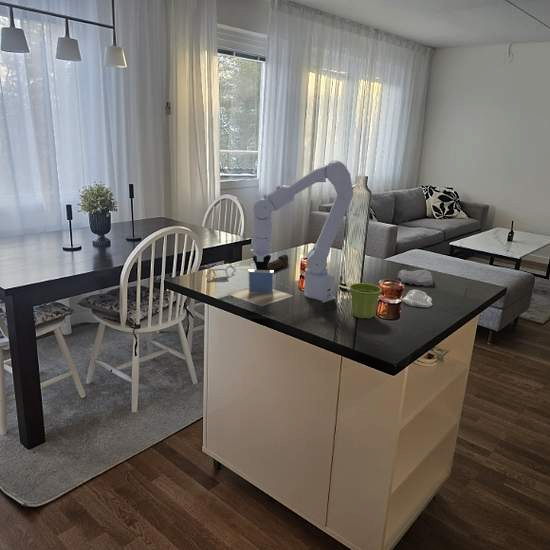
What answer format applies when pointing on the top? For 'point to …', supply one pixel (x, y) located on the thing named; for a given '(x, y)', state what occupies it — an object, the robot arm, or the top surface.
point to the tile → (261, 281)
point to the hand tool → (278, 263)
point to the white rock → (417, 299)
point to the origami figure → (221, 267)
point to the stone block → (416, 277)
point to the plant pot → (364, 299)
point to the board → (259, 296)
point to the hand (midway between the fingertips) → (261, 277)
